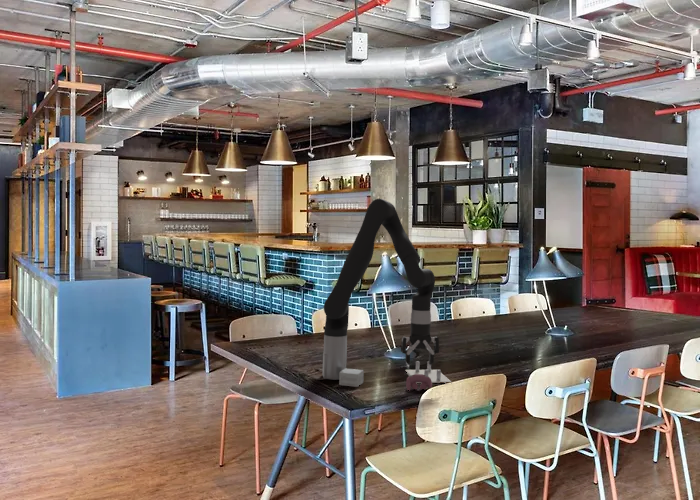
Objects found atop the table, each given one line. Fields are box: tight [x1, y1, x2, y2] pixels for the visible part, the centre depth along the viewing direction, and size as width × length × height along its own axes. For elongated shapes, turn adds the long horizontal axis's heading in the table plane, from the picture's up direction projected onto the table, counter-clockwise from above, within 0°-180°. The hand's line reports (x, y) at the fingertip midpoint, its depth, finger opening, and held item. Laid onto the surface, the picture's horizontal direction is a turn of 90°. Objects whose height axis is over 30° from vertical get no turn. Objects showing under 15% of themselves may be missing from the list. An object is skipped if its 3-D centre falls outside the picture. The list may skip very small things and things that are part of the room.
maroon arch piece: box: [405, 374, 433, 392], centre depth 239 cm, size 10×5×7 cm, turn 92°
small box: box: [338, 367, 364, 388], centre depth 246 cm, size 8×8×5 cm
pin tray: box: [405, 360, 452, 383], centre depth 258 cm, size 14×20×5 cm
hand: (419, 364), depth 240 cm, fingers open, 8 cm apart
